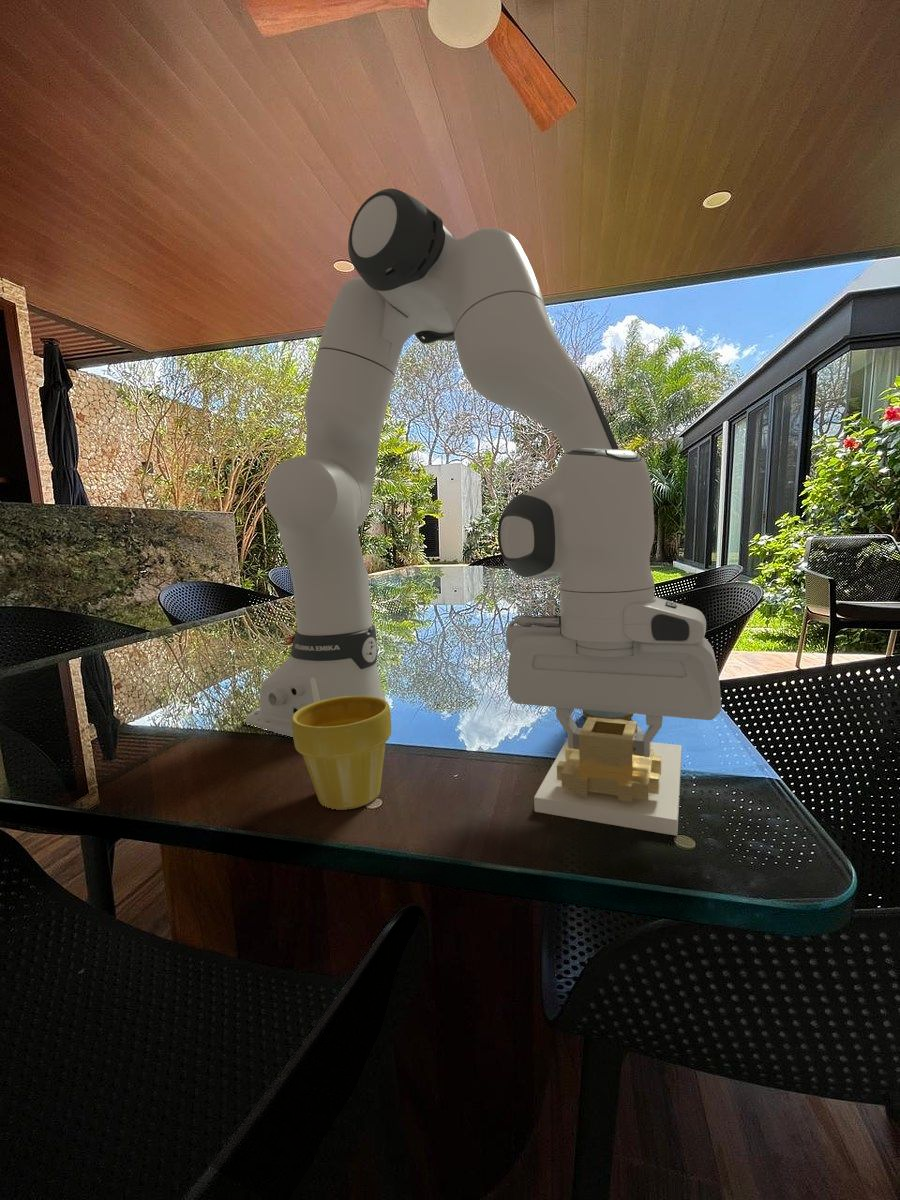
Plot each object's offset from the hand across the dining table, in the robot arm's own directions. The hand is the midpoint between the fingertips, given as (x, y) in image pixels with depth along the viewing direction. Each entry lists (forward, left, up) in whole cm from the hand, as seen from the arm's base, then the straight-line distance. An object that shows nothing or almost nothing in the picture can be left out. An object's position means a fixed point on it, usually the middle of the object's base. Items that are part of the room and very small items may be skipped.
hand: (609, 751), depth 54 cm
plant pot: (-26, -8, -5) cm, 28 cm away
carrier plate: (0, +3, -5) cm, 6 cm away
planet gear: (0, 0, -3) cm, 3 cm away
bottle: (-3, +23, -5) cm, 24 cm away
